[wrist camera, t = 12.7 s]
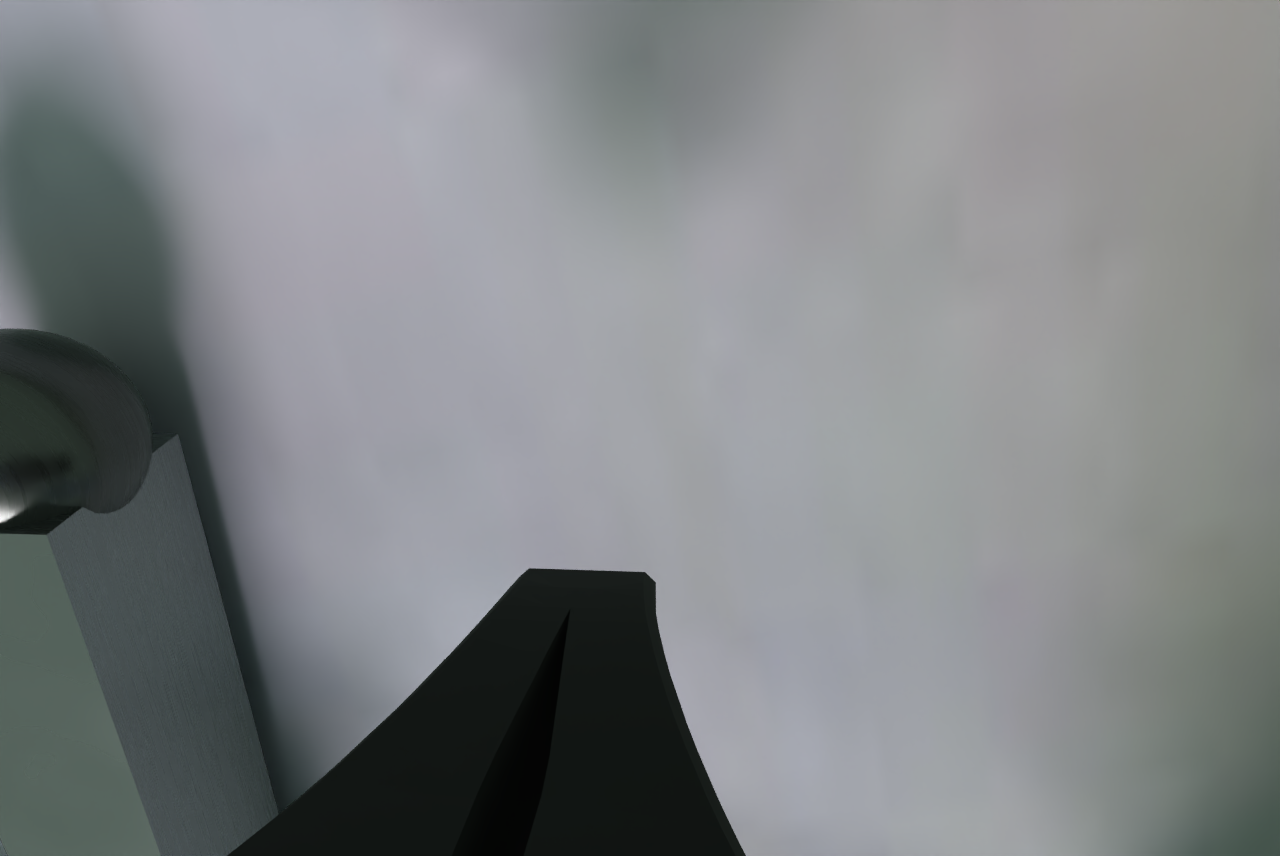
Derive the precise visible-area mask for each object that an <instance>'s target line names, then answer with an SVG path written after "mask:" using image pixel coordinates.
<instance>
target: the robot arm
mask: <svg viewBox="0 0 1280 856" xmlns="http://www.w3.org/2000/svg"><path fill="white" fill-rule="evenodd" d="M227 856H746V855H745V853H744V851H743V849H742V848H741V846H740V844H739V842H738V840H737V837H736V835H735V833H734V831H733V829H732V827H731V825H730V823H729V821H728V819H727V817H726V815H725V812H724V810H723V808H722V806H721V804H720V802H719V800H718V797H717V795H716V793H715V791H714V788H713V786H712V784H711V781H710V779H709V777H708V774H707V772H706V770H705V767H704V765H703V763H702V760H701V758H700V756H699V753H698V751H697V748H696V746H695V743H694V741H693V738H692V736H691V733H690V730H689V728H688V725H687V723H686V720H685V717H684V714H683V711H682V708H681V705H680V702H679V699H678V696H677V693H676V690H675V687H674V685H673V682H672V679H671V676H670V672H669V669H668V665H667V662H666V658H665V655H664V650H663V646H662V642H661V638H660V633H659V629H658V623H657V617H656V582H655V581H654V580H653V579H652V578H651V577H649V576H648V575H647V574H646V573H645V572H623V571H593V570H562V569H531V568H529V569H528V570H527V571H526V572H525V573H523V574H522V575H521V576H520V577H519V578H518V579H517V580H516V581H515V583H514V584H513V585H512V586H511V587H510V588H509V589H508V590H507V592H506V593H505V594H504V595H503V596H502V597H501V598H500V600H499V601H498V602H497V603H496V604H495V605H494V606H493V608H492V609H491V610H490V611H489V612H488V613H487V614H486V615H485V617H484V618H483V619H482V620H481V621H480V622H479V623H478V624H477V625H476V627H475V628H474V629H473V630H472V631H471V632H470V633H469V634H468V635H467V636H466V637H465V639H464V640H463V641H462V642H461V643H460V644H459V645H458V646H457V647H456V648H455V649H454V651H453V652H452V653H451V654H450V655H449V656H448V657H447V658H446V659H445V660H444V661H443V662H442V663H441V664H440V665H439V666H438V667H437V668H436V669H435V670H434V671H433V672H432V673H431V674H430V675H429V676H428V677H427V678H426V680H425V681H424V682H423V683H422V684H421V685H420V686H419V687H418V688H417V689H416V690H415V691H414V692H413V693H412V694H411V695H410V696H409V697H408V698H407V699H406V700H405V701H404V702H403V703H402V704H401V705H400V706H399V707H398V708H397V709H396V710H395V711H394V712H393V713H392V714H391V715H389V716H388V717H387V718H386V719H385V720H384V721H383V722H382V723H381V724H380V725H379V726H378V727H377V728H376V729H374V730H373V731H372V732H371V733H370V734H369V735H368V736H367V737H366V738H365V739H364V740H363V741H362V742H361V743H359V744H358V745H357V746H356V747H355V748H354V749H353V750H352V751H351V752H350V753H349V754H348V755H347V756H346V757H344V758H343V759H342V760H341V761H340V762H339V763H338V764H337V765H336V766H335V767H334V768H332V769H331V770H330V771H329V772H328V773H327V774H326V775H325V776H323V777H322V778H321V779H320V780H319V781H318V782H316V783H315V784H314V785H313V786H312V787H311V788H309V789H308V790H307V791H306V792H305V793H304V794H303V795H301V796H300V797H299V798H298V799H297V800H295V801H294V802H293V803H292V804H291V805H289V806H288V807H287V808H286V809H285V810H283V811H282V812H281V813H280V814H279V815H277V816H276V817H275V818H274V819H272V820H271V821H270V822H269V823H267V824H266V825H265V826H264V827H262V828H261V829H260V830H259V831H257V832H256V833H255V834H254V835H252V836H251V837H250V838H249V839H247V840H246V841H245V842H244V843H242V844H241V845H240V846H239V847H237V848H236V849H235V850H233V851H232V852H231V853H230V854H228V855H227Z"/></svg>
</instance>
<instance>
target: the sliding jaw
mask: <svg viewBox="0 0 1280 856" xmlns="http://www.w3.org/2000/svg"><path fill="white" fill-rule="evenodd" d="M277 815H279V813H278V809H277V805H276V801H275V798H274V794H273V790H272V786H271V782H270V779H269V775H268V771H267V767H266V764H265V760H264V756H263V752H262V749H261V745H260V741H259V737H258V733H257V730H256V726H255V722H254V718H253V715H252V711H251V707H250V703H249V700H248V696H247V692H246V688H245V684H244V681H243V677H242V673H241V669H240V666H239V662H238V658H237V654H236V651H235V647H234V643H233V639H232V635H231V632H230V628H229V624H228V620H227V617H226V613H225V609H224V605H223V602H222V598H221V594H220V590H219V586H218V583H217V579H216V575H215V571H214V568H213V564H212V560H211V556H210V553H209V549H208V545H207V541H206V537H205V534H204V530H203V526H202V522H201V519H200V515H199V511H198V507H197V504H196V500H195V496H194V492H193V489H192V485H191V481H190V477H189V473H188V470H187V466H186V462H185V458H184V455H183V451H182V447H181V443H180V440H179V436H178V434H166V433H152V426H151V421H150V417H149V414H148V411H147V408H146V405H145V403H144V401H143V399H142V397H141V395H140V394H139V392H138V390H137V389H136V387H135V386H134V384H133V383H132V382H131V381H130V379H129V378H128V377H127V376H126V375H125V374H124V373H123V372H122V371H121V370H120V368H119V367H117V366H116V365H115V364H114V363H113V362H111V361H110V360H109V359H108V358H106V357H105V356H103V355H102V354H101V353H99V352H97V351H96V350H94V349H92V348H90V347H88V346H86V345H84V344H82V343H79V342H77V341H75V340H72V339H70V338H67V337H64V336H61V335H58V334H53V333H48V332H43V331H38V330H30V329H0V840H1V842H2V844H3V846H4V848H5V851H6V853H7V855H8V856H227V855H228V854H230V853H231V852H232V851H233V850H235V849H236V848H237V847H239V846H240V845H241V844H242V843H244V842H245V841H246V840H247V839H249V838H250V837H251V836H252V835H254V834H255V833H256V832H257V831H259V830H260V829H261V828H262V827H264V826H265V825H266V824H267V823H269V822H270V821H271V820H272V819H274V818H275V817H276V816H277Z"/></svg>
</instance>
